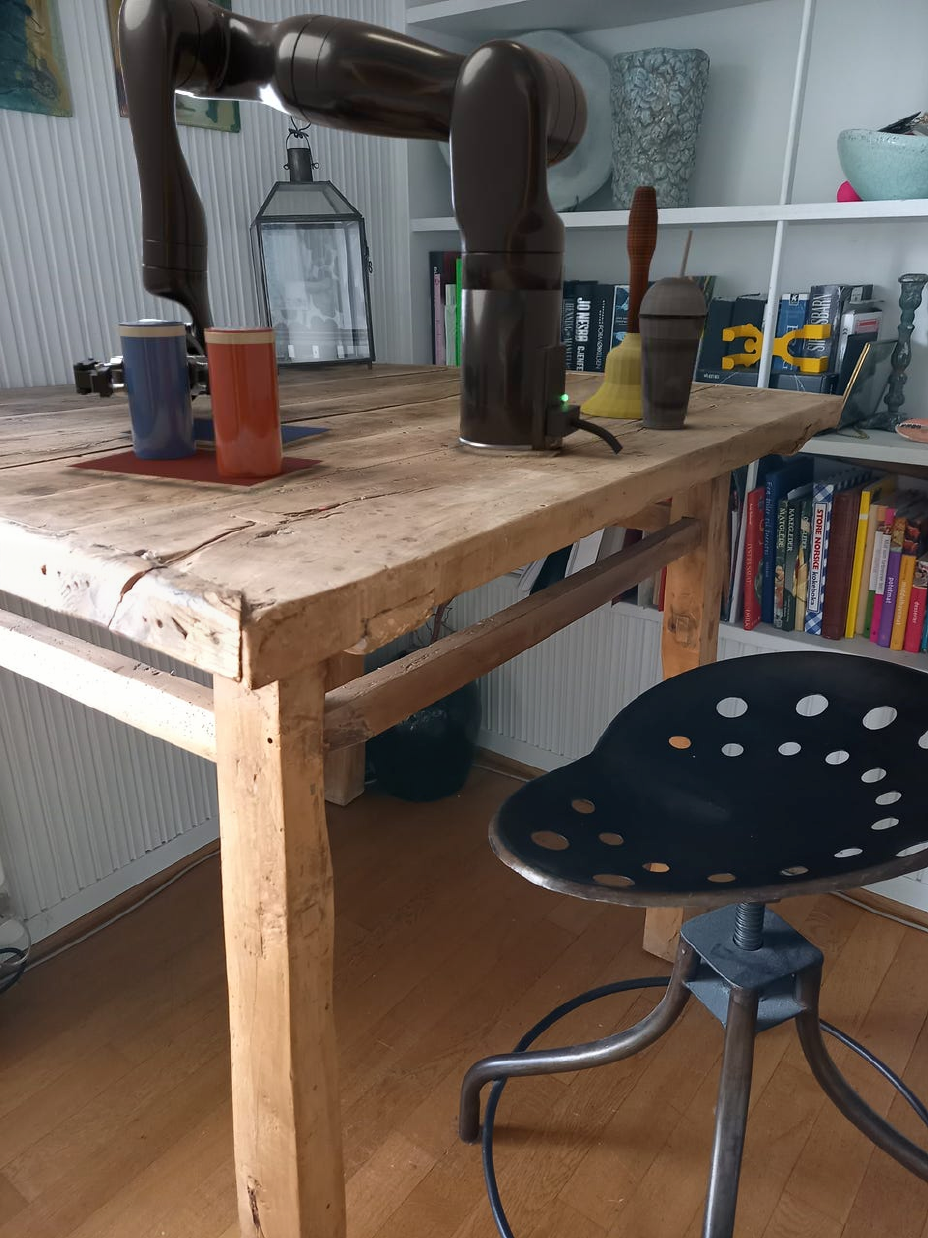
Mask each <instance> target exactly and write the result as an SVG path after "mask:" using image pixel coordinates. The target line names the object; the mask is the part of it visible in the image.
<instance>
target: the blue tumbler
mask: <svg viewBox="0 0 928 1238" xmlns="http://www.w3.org/2000/svg"><path fill="white" fill-rule="evenodd" d="M184 323H185V322H183V321H174V320H173V321H172V320H162V321H139V320H136V321H122V322H118V323H117V324H118V326H117V328H118V329H117V330H118V336H119V339H120V347H121V349H120V350H121V356H122V357H123V365H124V373H125V381H126V390H127V397H126V398H127V404H128V405H127V406H128V412H129V421H130V430H132V434H131V438H132V444H133V445H132V446H133V450H134V455H135V457H136V458H140V459H146V460H172V459H181V458H187V457H191V456H194V455H195V454H196V453H197V451H196V449H197V442H196V441H197V440H195V430H194V420H193V418H194V411H193V401H192V400H191V390H190V379H189V369H188V359H187V349H186V339H185V335H186V333H185V325H184Z"/></svg>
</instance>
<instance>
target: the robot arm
mask: <svg viewBox="0 0 928 1238" xmlns="http://www.w3.org/2000/svg"><path fill="white" fill-rule="evenodd" d="M117 40H118V41H117V42H118V52H119V61H120V69H121V75H122V81H123V82H122V83H123V88H124V94H125V100H126V108H127V115H128V123H129V127H130V133H131V139H132V144H133V145H132V146H133V151H134V157H135V163H136V171H137V178H138V186H139V196H140V211H141V261H142V262H141V264H142V266H141V275H142V276H141V278H142V285H143V288H144V290H145V291H146V292H147V294H149V295H151V296H153V297H156V298H159V299H162V300H165V301H169V302H172V303H174V304H177V305H179V306H181V307H182V308H183V309H184V310H185V311H186V312H187V314H188V315H189V318H190V322H183V323H184V325H185V333H186V335H185V339H186V349H187V359H188V369H189V379H190V390H191V400H192V402H194V401H195V400H196V398H197V397H198V396H203V395H206V396H211V395H210V384H209V373H208V362H207V351H206V342H205V337H204V331H205V328H209V327H216V326H215V323H214V318H213V314H212V310H211V303H210V298H209V288H208V255H209V254H208V251H209V250H208V246H209V245H208V244H209V243H208V242H209V235H208V232H209V231H208V224H207V216H206V213H205V209H204V203H203V201H202V197H201V196H200V193H199V191H198V188H197V185H196V183H195V181H194V178H193V175H192V173H191V171H190V169H189V165H188V163H187V160H186V157H185V154H184V151H183V148H182V147H183V146H182V144H181V140H180V137H179V131H178V125H177V118H176V117H177V116H176V93H177V94H181V95H184V96H188V97H191V98H195V99H201V100H222V101H223V100H225V101H241V102H242V101H243V102H253V103H258V104H263V105H267V106H269V107H271V108H272V109H275V110H276V111H278V112H281V113H282V114H285V115H286V116H289V117H291V118H293V119H296V120H299V121H302V122H305V123H308V124H310V125H315V126H318V127H321V128H328V129H331V130H336V131H340V132H344V133H349V134H350V133H351V134H356V135H357V134H358V135H364V136H372V137H378V138H379V137H380V138H389V139H399V140H417V141H431V142H440V143H445V144H449V159H450V162H449V163H450V179H451V180H450V181H451V185H450V186H451V204H452V212H453V216H454V219H455V222H456V225H457V228H458V231H459V235H460V245H461V247H460V249H461V250H460V252H461V254H460V255H461V261H460V262H461V263H460V264H461V265H460V266H461V267H460V277H461V279H460V284H461V285H460V288H461V290H460V379H459V380H460V381H459V382H460V387H459V390H460V392H459V397H460V398H459V399H460V400H459V402H460V403H459V405H460V409H459V410H460V412H459V413H460V417H459V418H460V419H459V420H460V421H459V436H458V442H459V444H460V445H462V446H464V447H467V448H471V449H477V450H485V451H496V452H497V451H498V452H526V451H527V452H528V451H529V452H530V451H535V452H536V451H537V452H545V451H548V450H552V451H553V450H556V449H557V448H559V447H561V446H563V443H564V441H563V440H564V438H566V437H569V436H570V435H572V434H574V433H576V432H578V431H580V430H582V431H583V432H587V433H591V434H593V435H595V436H597V437H598V438H600V439H601V440H603V441H604V442H605V443H606V444H607V445H608V446H609V448H610V449H611V450H612V451H613V453H614V454H615V455H617V454H620V452H621V451H623V449H624V446H622V444H621V443H620V442H619V440H618V439H617V438H616V437H615V436H614V434H612V433H611V432H610V431H609V430H608V429H606V428H604V427H603V426H600V425H598V424H596V423H593V422H590V421H587V420H584V419H582V418H580V416H581V411H580V408H581V405H579V404H565V402H567V400H568V399H569V396H568V395H567V394H566V379H567V378H566V377H567V357H568V356H567V354H568V345H567V343H566V342H563V341H562V340H561V339H562V319H563V318H562V315H563V297H564V295H563V293H564V291H563V289H564V271H565V253H566V251H565V250H566V225H565V223H564V220H563V218H562V217H561V216H560V214H559V213H558V212H557V210H556V209H555V207H554V205H553V202H552V200H551V197H550V193H549V188H548V170H549V169H552V168H555V167H557V166H558V165H560V164H561V163H563V162H565V161H566V160H567V159H568V158H570V157H571V155H572V154H573V153H575V151H576V150H577V148H578V147H579V146H580V145H581V142H582V140H583V139H584V136H585V134H586V131H587V128H588V123H589V104H588V99H587V96H586V95H587V94H586V92H585V90H584V88H583V86H582V84H581V81H580V80H579V79H578V77H577V76H576V74H575V73H574V71H573V70H571V69H570V67H569V66H568V65H566V64H565V63H564V62H563V61H562V60H560V59H559V58H557V57H556V56H554V55H552V54H550V53H547V52H544V51H542V50H540V49H537V48H535V47H533V46H530V45H528V44H525V43H524V42H520V41H518V40H514V39H510V38H495V39H491V40H488V41H485V42H483V43H482V44H480V45H478V46H477V47H475V48H474V49H473V50H472V51H471V52H470V53H468V54H464V53H459V52H456V51H452V50H448V49H445V48H443V47H439V46H437V45H434V44H431V43H429V42H426V41H424V40H421V39H419V38H416V37H413V36H411V35H408V34H406V33H403V32H399V31H396V30H392V29H390V28H387V27H383V26H380V25H377V24H375V23H374V24H373V23H370V22H365V21H362V20H357V19H352V18H345V17H340V16H334V15H327V14H321V13H320V14H318V13H305V14H303V13H302V14H298V15H293V16H290V17H287V18H285V19H283V20H280V21H277V22H269V21H262V20H258V19H255V18H252V17H248V16H245V15H242V14H239V13H236V12H233V11H231V10H229V9H226V8H224V7H222V6H219V5H218V4H216V3H214V2H212V1H210V0H122V2H121V5H120V8H119V12H118V21H117ZM138 321H163V320H162V319H151V318H145V319H143V318H142V319H139V320H138ZM72 368H73V376H74V384H75V388H76V389H75V390H76V394H78V395H81V396H88V394H97V395H99V398H100V399H103V398H104V399H107V398H111V396H112V395H113V394H115V396H117V397H126V398H127V390H126V381H125V373H124V365H123V357H122V355H118V356H112V357H111V358H110V360H109V363H105V362H102V361H101V360H99V359H97V358H96V359H95V358H94V357H87V359H83V360H80V361H78V362H75V363H74V364H72Z"/></svg>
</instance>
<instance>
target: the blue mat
mask: <svg viewBox="0 0 928 1238" xmlns="http://www.w3.org/2000/svg"><path fill="white" fill-rule="evenodd" d="M193 420H194V430H195V440H196V441H206V442H207V441H208V442H215V439H214V428H213V418H212V419H211V418H199V417H197V418H196V417H193ZM332 430H334V428H325V427H315V426H313V427H312V426H303V425H302V426H300V425H287V424H281V436H282V445H284V444H287V443H290V442H294V441H297V440H300V439H304V438H307V437H312V436H314V435H318V434H321V433H325V432H329V431H332ZM119 433H120V434H129V435H132V430H131V429H129V430H126V431H125V430H124V431H121V432H119Z"/></svg>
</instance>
